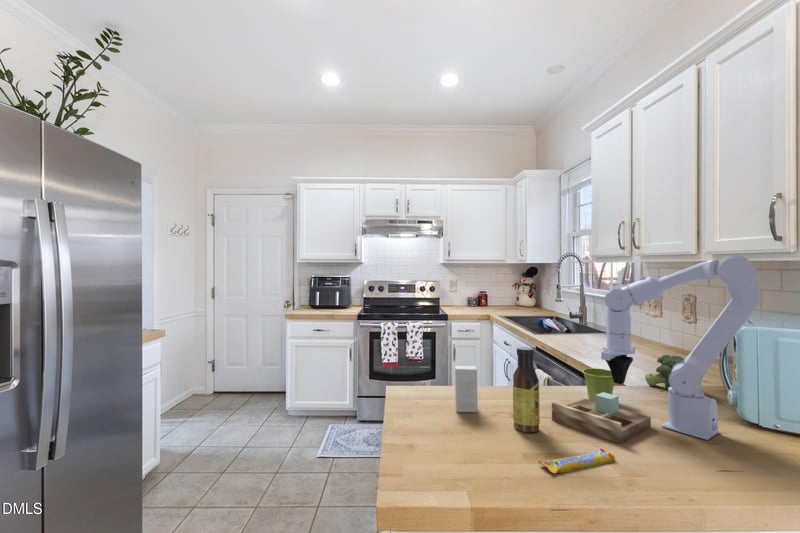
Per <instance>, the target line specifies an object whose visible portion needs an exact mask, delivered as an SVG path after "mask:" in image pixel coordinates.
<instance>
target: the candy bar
mask: <svg viewBox="0 0 800 533" xmlns="http://www.w3.org/2000/svg"><path fill="white" fill-rule="evenodd" d="M605 452H607V451H606V450H605V449H603V448H599V450H597V451H593V452H587V453H584V454H579V455H573V456H567V457H562V458H555V459H550V460H546V461H538V463H540V464H541V465H543V466H544V467H545V468H546V469H548V471H549V472H551V473H552V474H561V473H562V474H563V473H568V472H572V471H577V470H582V469H585V468H586V469H587V468H591V467H594V466H595V467H596V466H600V465H605V464H609V463H613V462H615V461H616V455H613V454H612V453H611V452H610V451H609V452H608V453H607V454H606V453H605Z"/></svg>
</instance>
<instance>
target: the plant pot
mask: <svg viewBox="0 0 800 533" xmlns="http://www.w3.org/2000/svg"><path fill="white" fill-rule="evenodd" d="M582 373H583V376H584V379H585V384H586V390H587V396H588V397H587V398H588V400H591V401H595V395H597V394H600V393H602V392H604V393H608V394H612V395H613V392H614V385H615V383H614V381H613V378H612V374H611V370H610V369H606V368H597V367H594V368H593V367H591V368H590V367H589V368H583V369H582Z"/></svg>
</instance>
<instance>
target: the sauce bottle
mask: <svg viewBox="0 0 800 533" xmlns="http://www.w3.org/2000/svg"><path fill="white" fill-rule="evenodd" d="M534 354H535V351H534V348H532V347H525V346H521V347H517V348H516V355H517V367H516V369H515V370H514V371H513V372H514V373H513V375H512V379H513V380H512V382H513V384H512V411H513V412H512V413H513V414H512V415H513V416H512V418H513V420H512V421H513V427H514V428H515V430H518V431H519V432H522V433H535V432H538V431H539V429H540V423H541V422H540V420H541V419H540V418H541V417H540V380H539V377H538V375H537V372H536V369H535V367H534Z"/></svg>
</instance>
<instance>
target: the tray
mask: <svg viewBox="0 0 800 533" xmlns="http://www.w3.org/2000/svg"><path fill="white" fill-rule="evenodd" d="M651 418H652V417H651V416H647V415H644V414H641V413H638V412H633V411H630V410H628V409H627V410H626V409H624V408H620V407H619V412H617V413H614V414H612V415H610V414H607V413H603V412H600V411H596V410H595V401H591V400H589V399H587V398H584V399H581V400H578V401H575V402H572V403H570V404H569V403H568V404H566V405H564V404H562V403H558V402H555V401H553V402H551V421H553V422H557V423H559V424H563V425H565V426H568V427H571V428H573V429H576V430H580V431H581V432H585V433H588V434H590V435H593V436H596V437H599V438H601V439H605V440H607V441H610V442H613V443H616V444H618V443H619V444H618V445H621V443H624V442H625V441H627V440H629V439H631V438H633V437H635V436H636V435H639V434H640V433H643V432H644V431H646V430H648V429H650V428H652V424H651V423H652V422H651V421H652V419H651Z"/></svg>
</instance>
